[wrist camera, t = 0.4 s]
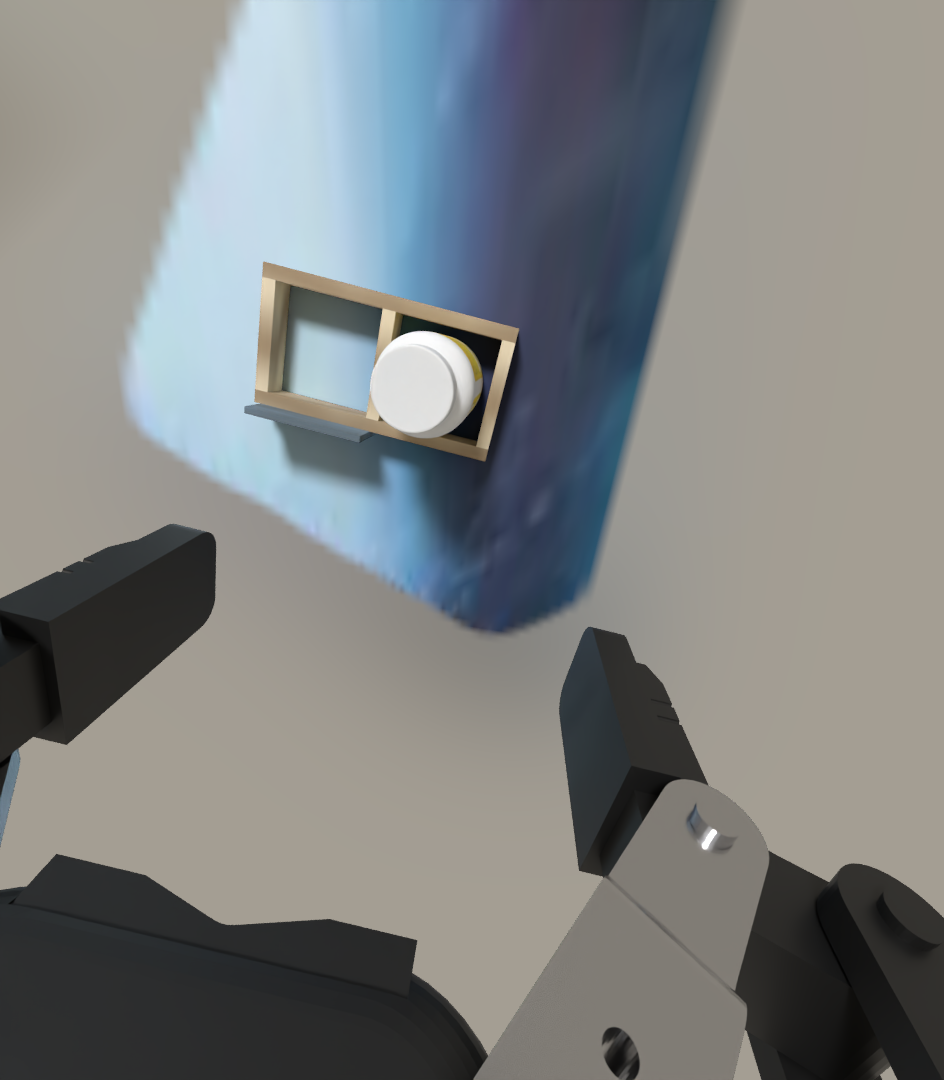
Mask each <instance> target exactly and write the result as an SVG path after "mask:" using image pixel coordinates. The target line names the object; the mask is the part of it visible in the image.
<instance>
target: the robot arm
mask: <svg viewBox="0 0 944 1080" xmlns="http://www.w3.org/2000/svg"><path fill="white" fill-rule="evenodd" d="M215 575H216V541H215V538H214V536H213V535H212V534H211V533H209V532H205V531H201V530H197V529H193V528H189V527H185V526H181V525H177V524H169V525H167V526H165V527H163V528H161V529H159V530H157V531H155V532H153V533H151V534H149V535H147V536H145V537H143V538H141V539H139V540H136V541H132V542H127V543H124V544H119V545H115V546H111V547H107V548H105V549H103V550H101V551H99V552H97V553H95V554H93V555H91V556H89V557H87V558H84V560H83V562H80V561H78V562H76V563H74V564H72V565H70V566H68V567H66V568H63V571H62V572H55V573H53V574H51V575H49V576H47V577H45V578H43V579H40V580H39V581H36V582H34V583H32V584H30V585H28V586H26V587H24V588H22V589H20V590H17V591H15V592H13V593H11V594H9V595H7V596H5V597H3V598H1V599H0V845H1V841H2V837H3V833H4V829H5V825H6V821H7V817H8V812H9V808H10V804H11V800H12V796H13V792H14V787H15V783H16V779H17V775H18V771H19V766H20V754H19V749H18V748H19V747H21V746H22V745H23V744H24V743H26V742H27V741H28V740H29V739H31V738H32V737H36V738H41V739H45V740H49V741H53V742H57V743H61V744H65V745H67V744H68V743H69V742H70V741H72V740H73V739H74V738H75V737H76V736H77V735H78V734H80V733H81V732H82V731H83V730H84V729H85V728H86V727H88V726H89V725H90V724H91V723H92V722H93V721H94V720H96V719H97V718H98V717H99V716H100V715H101V714H102V713H104V712H105V711H106V710H107V709H108V708H109V707H110V706H112V705H113V704H114V703H115V702H116V701H117V700H118V699H120V698H121V697H122V696H123V695H124V694H125V693H126V692H128V691H129V690H130V689H131V688H132V687H133V686H134V685H136V684H137V683H138V682H139V681H140V680H141V679H142V678H144V677H145V676H146V675H147V674H148V673H149V672H150V671H151V670H153V669H154V668H155V667H156V666H157V665H158V664H160V663H161V662H162V661H163V660H164V659H165V658H166V657H167V656H169V655H170V654H171V653H172V652H173V651H174V650H176V649H177V648H178V647H179V646H180V645H181V644H182V643H183V642H185V641H186V640H187V639H188V638H189V637H190V636H191V635H193V634H194V633H195V632H196V631H197V630H198V629H200V628H201V627H202V626H203V625H204V623H205V622H206V621H207V619H208V618H209V616H210V614H211V612H212V609H213V606H214V602H215V578H216V577H215ZM671 705H672V703H671V701H670V699H669V696H668V694H667V692H666V690H665V688H664V685H663V684H662V682H660V680H659V679H658V678H657V677H656V676H655V675H654V674H653V673H652V671H651V670H650V669H649V668H648V667H647V666H646V665H644V664H640V663H636V661H635V659H634V656H633V654H632V651H631V648H630V646H629V643H628V641H627V639H626V637H625V636H624V635H621V634H617V633H613V632H609V631H605V630H601V629H597V628H593V627H588V628H587V629H586V630H585V632H584V633H583V635H582V638H581V640H580V643H579V646H578V648H577V651H576V653H575V656H574V659H573V661H572V664H571V666H570V669H569V672H568V674H567V677H566V680H565V682H564V685H563V689H562V692H561V697H560V706H559V714H560V722H561V731H562V739H563V747H564V755H565V763H566V771H567V778H568V786H569V794H570V802H571V809H572V818H573V826H574V833H575V842H576V850H577V857H578V866H579V871H582V872H586V873H591V874H595V875H599V876H603V880H602V881H601V883H600V884H599V886H598V887H597V889H596V890H595V892H594V893H593V895H592V897H591V898H590V899H589V901H588V902H587V904H586V906H585V907H584V909H583V910H582V912H581V914H580V915H579V916H578V918H577V920H576V921H575V923H574V924H573V926H572V927H571V929H570V930H569V932H568V933H567V935H566V937H565V938H564V940H563V941H562V943H561V944H560V946H559V947H558V949H557V950H556V952H555V954H554V955H553V957H552V958H551V960H550V962H549V963H548V964H547V966H546V967H545V969H544V971H543V972H542V974H541V975H540V977H539V978H538V980H537V982H536V983H535V985H534V986H533V988H532V989H531V991H530V992H529V994H528V995H527V997H526V999H525V1000H524V1002H523V1003H522V1005H521V1006H520V1008H519V1009H518V1011H517V1012H516V1014H515V1015H514V1017H513V1019H512V1020H511V1022H510V1023H509V1025H508V1026H507V1028H506V1030H505V1031H504V1033H503V1034H502V1036H501V1037H500V1039H499V1040H498V1042H497V1044H496V1045H495V1046H494V1048H493V1050H492V1051H491V1053H490V1054H489V1056H488V1055H487V1053H486V1051H485V1049H484V1048H483V1046H482V1044H481V1042H480V1041H479V1040H478V1038H477V1037H476V1035H475V1034H474V1033H473V1031H472V1029H471V1028H470V1027H469V1025H468V1024H467V1022H466V1021H465V1019H464V1018H463V1017H462V1016H461V1015H460V1014H459V1013H458V1012H457V1010H456V1009H455V1008H454V1007H453V1006H452V1005H451V1004H450V1003H449V1001H448V1000H447V999H446V998H444V997H443V996H442V995H441V994H440V993H439V992H437V991H436V990H435V989H434V988H433V987H432V986H430V985H429V984H428V983H427V982H425V981H423V980H422V979H420V978H419V977H417V976H416V975H414V974H413V973H412V969H413V962H414V957H415V950H416V945H417V940H414V939H410V938H405V937H402V936H397V935H393V934H389V933H385V932H380V931H377V930H372V929H368V928H363V927H360V926H356V925H351V924H347V923H343V922H339V921H335V920H331V919H326V920H325V919H324V920H310V921H309V920H308V921H295V922H294V921H292V922H277V923H261V924H246V925H225V924H221V923H219V922H217V921H215V920H213V919H211V918H210V917H208V916H207V915H205V914H204V913H202V912H201V911H199V910H198V909H196V908H195V907H193V906H191V905H190V904H189V903H187V902H186V901H184V900H182V899H181V898H179V897H178V896H176V895H175V894H173V893H172V892H170V891H168V890H167V889H166V888H164V887H163V886H161V885H160V884H158V883H156V882H155V881H153V880H152V879H150V878H149V877H147V876H146V875H142V874H138V873H134V872H130V871H126V870H121V869H117V868H113V867H108V866H105V865H100V864H96V863H92V862H88V861H83V860H80V859H75V858H71V857H67V856H63V855H58V854H56V855H55V856H54V857H53V858H52V859H51V861H50V862H49V863H48V864H47V865H46V866H45V867H44V868H43V869H42V870H41V871H40V873H39V874H38V875H37V876H36V877H35V878H34V879H33V880H32V881H31V883H30V884H29V885H28V886H27V887H17V888H11V889H5V890H0V1080H733V1078H734V1074H735V1069H736V1065H737V1061H738V1057H739V1053H740V1048H741V1044H742V1040H743V1036H744V1031H745V1030H746V1031H747V1033H748V1037H749V1040H750V1043H751V1047H752V1050H753V1053H754V1056H755V1060H756V1063H757V1066H758V1070H759V1073H760V1076H761V1079H762V1080H882V1078H881V1076H880V1074H882V1073H883V1072H884V1071H885V1070H886V1069H888V1068H889V1067H890V1066H891V1067H892V1069H893V1071H894V1073H895V1076H896V1077H897V1079H898V1080H944V918H943V917H942V916H941V915H940V914H939V913H938V912H937V911H936V910H935V909H933V907H932V906H931V905H930V904H928V903H927V902H926V901H925V900H924V899H923V898H922V897H920V896H919V895H918V894H916V893H915V892H914V891H913V890H911V889H910V888H909V887H907V886H906V885H904V884H903V883H901V882H900V881H898V880H897V879H895V878H893V877H891V876H890V875H888V874H886V873H884V872H882V871H880V870H878V869H875V868H872V867H870V866H866V865H862V864H848V865H845V866H843V867H842V868H841V869H840V870H839V871H838V872H837V874H836V875H835V876H834V877H833V878H832V880H831V881H830V882H827V881H825V880H823V879H822V878H819V877H818V876H816V875H814V874H812V873H810V872H807V871H806V870H804V869H802V868H800V867H798V866H796V865H794V864H792V863H791V862H789V861H787V860H785V859H783V858H781V857H779V856H777V855H775V854H773V853H772V852H770V851H768V848H767V845H766V842H765V840H764V838H763V836H762V834H761V832H760V831H759V829H758V828H757V826H756V825H755V823H754V822H753V821H752V820H751V819H750V817H749V816H748V815H747V814H746V813H745V812H744V811H743V810H742V809H741V808H740V807H739V806H738V805H737V804H736V803H735V802H733V801H732V800H731V799H730V798H728V797H727V796H726V795H724V794H722V793H721V792H719V791H718V790H716V789H714V788H712V787H710V786H708V783H707V781H706V779H705V776H704V774H703V772H702V770H701V768H700V765H699V763H698V761H697V759H696V757H695V754H694V752H693V750H692V747H691V745H690V743H689V741H688V739H687V737H686V734H685V732H684V730H683V727H682V725H679V719H678V717H677V714H676V712H675V710H674V708H672V707H671Z"/></svg>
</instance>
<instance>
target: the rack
mask: <svg viewBox="0 0 944 1080" xmlns="http://www.w3.org/2000/svg"><path fill="white" fill-rule="evenodd" d="M291 285H292V286H296V287H300V288H303V289H307V290H311V291H315V292H319V293H322V294H326V295H330V296H334V297H338V298H341V299H345V300H349V301H353V302H357V303H360V304H364V305H368V306H372V307H376V308H379V309H383V310H382V317H381V323H380V330H379V336H378V343H377V349H376V356H375V362H374V367H375V365H376V363H377V361H378V358H379V357H380V355H381V353H382V352H383V350H384V349H385V348H386V347H387V345H389V344H390V343H391V342H392V341H393V340H395V339H396V338H398V337H400V331H401V325H402V319H403V315H406V316H410V317H414V318H417V319H421V320H425V321H429V322H433V323H436V324H440V325H444V326H448V327H452V328H455V329H459V330H463V331H467V332H471V333H474V334H478V335H482V336H486V337H490V338H493V339H497V340H501V341H502V343H501V347H500V351H499V355H498V360H497V364H496V368H495V372H494V376H493V380H492V384H491V388H490V392H489V396H488V400H487V404H486V408H485V412H484V416H483V421H482V425H481V429H480V433H479V437H478V441H475V440H471V439H467V438H463V437H459V436H455V435H452V434H448V433H447V434H445V435H442V436H439V437H435V438H416V437H412V436H409V435H406V434H404V433H402V432H400V431H399V430H397V429H395V428H393V427H391V426H390V425H388V424H387V423H386V422H385V421H384V420H383V419H382V418H381V417H380V415H379V414H378V412H377V411H376V409H375V407H374V405H373V402H372V398H371V393H370V395H369V402H368V408H367V412H363V411H359V410H355V409H352V408H348V407H344V406H340V405H336V404H332V403H329V402H325V401H321V400H317V399H313V398H309V397H305V396H302V395H298V394H294V393H290V392H286V391H282V382H283V370H284V358H285V346H286V334H287V322H288V310H289V298H290V286H291ZM518 331H519V329H518V328H514V327H510V326H506V325H502V324H499V323H495V322H491V321H487V320H483V319H480V318H476V317H472V316H468V315H464V314H461V313H457V312H453V311H449V310H446V309H442V308H438V307H434V306H430V305H427V304H423V303H419V302H415V301H411V300H408V299H404V298H400V297H396V296H392V295H389V294H385V293H381V292H377V291H373V290H370V289H366V288H362V287H358V286H354V285H351V284H347V283H343V282H339V281H336V280H332V279H328V278H324V277H320V276H317V275H313V274H309V273H305V272H301V271H298V270H294V269H290V268H286V267H282V266H279V265H275V264H271V263H267V262H263V274H262V290H261V306H260V322H259V338H258V354H257V370H256V386H255V402H257V403H261V404H256V405H250V406H245V412H244V413H246V414H250V415H254V416H258V417H262V418H265V419H269V420H273V421H277V422H281V423H285V424H289V425H292V426H296V427H300V428H304V429H308V430H312V431H316V432H319V433H323V434H327V435H331V436H335V437H339V438H343V439H346V440H350V441H354V442H358V443H360V442H361V441H363V440H365V439H367V438H369V437H371V436H372V435H374V434H376V433H377V434H381V435H384V436H388V437H392V438H396V439H400V440H404V441H408V442H411V443H415V444H419V445H423V446H427V447H431V448H435V449H438V450H442V451H446V452H450V453H454V454H458V455H462V456H465V457H469V458H473V459H477V460H481V461H485V460H486V456H487V452H488V448H489V445H490V441H491V437H492V433H493V429H494V425H495V421H496V417H497V413H498V409H499V406H500V402H501V398H502V394H503V390H504V386H505V382H506V378H507V374H508V370H509V367H510V363H511V359H512V355H513V351H514V347H515V343H516V339H517V335H518Z"/></svg>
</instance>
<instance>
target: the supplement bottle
mask: <svg viewBox="0 0 944 1080" xmlns="http://www.w3.org/2000/svg"><path fill="white" fill-rule="evenodd" d="M482 387H483V374H482V369H481V365H480V363H479V361H478V359H477V357H476V355H475V354H474V352H473V351H472V350H471V349H470V348H469V347H468V346H467V345H466V344H464V343H463V342H462V341H460V340H458V339H456V338H453V337H450V336H446V335H442V334H439V333H435V332H429V331H416V332H410V333H407V334H404V335H402V336H400V337H398V338H396V339H395V340H393V341H392V342H391V343H390V344H389V345H387V347H386V348H385V349H384V350H383V352H382V353H381V355H380V357H379V358H378V361H377V363H376V365H375V367H374V369H373V372H372V376H371V381H370V393H371V398H372V402H373V405H374V407H375V409H376V411H377V412H378V414H379V415H380V417H381V418H382V419H383V420H384V421H385V422H386V423H387V424H388V425H390V426H391V427H393V428H395V429H397V430H399V431H400V432H402V433H404V434H406V435H409V436H412V437H416V438H435V437H439V436H442V435H445V434H447V433H449V432H451V431H452V430H454V429H455V428H456V427H457V426H459V425H460V424H461V423H462V422H463V420H464V419H465V418H466V417H467V416H468V414H469V413H470V412H471V411H472V410H473V408H474V407H475V405H476V404H477V402H478V400H479V398H480V395H481V392H482Z"/></svg>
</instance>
